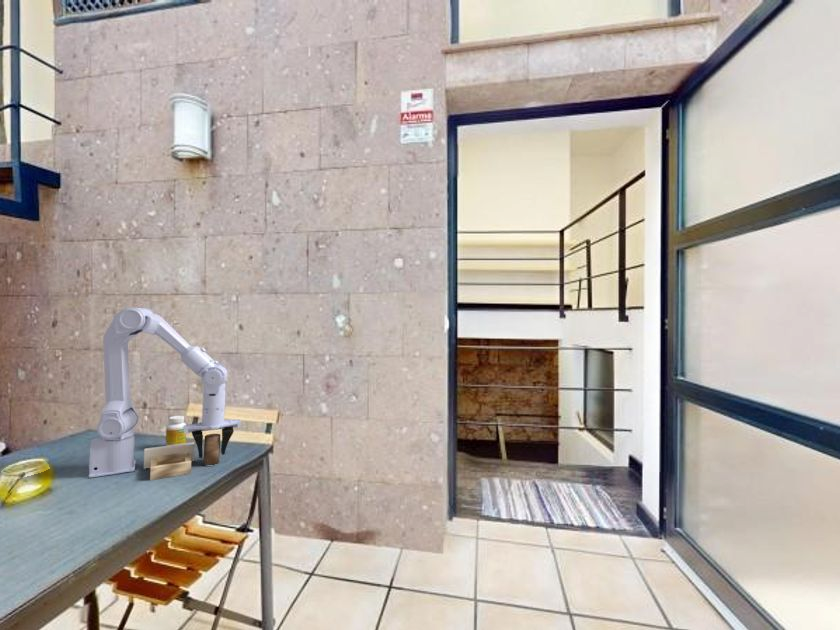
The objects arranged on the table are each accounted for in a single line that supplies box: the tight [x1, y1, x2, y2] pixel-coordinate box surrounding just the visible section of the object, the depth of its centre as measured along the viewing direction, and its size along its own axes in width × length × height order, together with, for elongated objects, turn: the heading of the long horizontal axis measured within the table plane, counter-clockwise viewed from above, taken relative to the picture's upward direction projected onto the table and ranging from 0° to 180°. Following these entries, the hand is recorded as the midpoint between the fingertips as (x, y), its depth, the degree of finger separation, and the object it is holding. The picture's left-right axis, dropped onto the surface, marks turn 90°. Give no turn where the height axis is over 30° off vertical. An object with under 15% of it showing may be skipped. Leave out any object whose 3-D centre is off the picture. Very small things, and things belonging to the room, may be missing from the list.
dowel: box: [203, 433, 221, 466], centre depth 113 cm, size 4×4×8 cm
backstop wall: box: [143, 441, 196, 470], centre depth 112 cm, size 12×2×5 cm, turn 124°
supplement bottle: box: [165, 415, 187, 446], centre depth 124 cm, size 5×5×10 cm
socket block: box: [149, 452, 192, 481], centre depth 107 cm, size 9×9×3 cm
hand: (211, 455), depth 113 cm, fingers open, 5 cm apart
